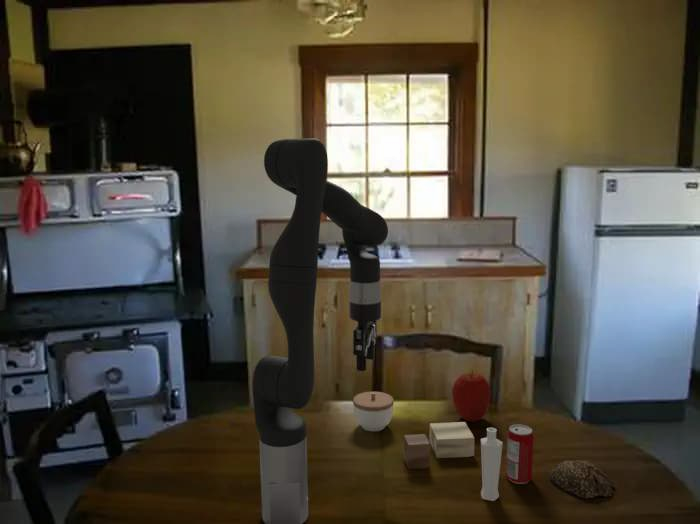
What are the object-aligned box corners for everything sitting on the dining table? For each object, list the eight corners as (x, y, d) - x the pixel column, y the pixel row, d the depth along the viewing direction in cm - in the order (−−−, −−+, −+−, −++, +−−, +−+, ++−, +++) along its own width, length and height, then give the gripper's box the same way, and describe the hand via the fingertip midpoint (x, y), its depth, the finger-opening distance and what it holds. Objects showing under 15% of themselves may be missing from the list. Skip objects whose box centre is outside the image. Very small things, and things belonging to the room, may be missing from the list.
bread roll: (541, 476, 143) (542, 455, 142) (585, 466, 147) (586, 446, 146) (580, 505, 131) (581, 483, 130) (627, 493, 135) (628, 472, 134)
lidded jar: (348, 432, 165) (347, 398, 163) (359, 416, 175) (359, 383, 173) (388, 437, 162) (388, 403, 160) (397, 420, 172) (397, 387, 170)
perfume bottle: (484, 487, 138) (486, 423, 135) (503, 494, 135) (505, 428, 132) (474, 496, 134) (475, 430, 131) (493, 503, 131) (495, 436, 129)
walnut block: (429, 467, 147) (429, 443, 145) (408, 469, 146) (408, 445, 145) (424, 457, 151) (424, 434, 150) (404, 458, 151) (404, 435, 150)
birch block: (473, 457, 152) (474, 437, 151) (436, 459, 151) (437, 439, 150) (464, 440, 160) (464, 421, 160) (429, 441, 160) (429, 423, 159)
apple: (487, 411, 177) (489, 364, 174) (492, 427, 167) (494, 377, 165) (450, 410, 178) (451, 363, 175) (452, 426, 168) (453, 376, 166)
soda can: (534, 476, 142) (536, 425, 140) (527, 487, 138) (530, 435, 135) (510, 470, 145) (511, 420, 143) (502, 480, 140) (504, 430, 138)
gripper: (374, 307, 142) (374, 376, 145) (386, 293, 156) (386, 356, 158) (342, 305, 144) (342, 373, 147) (357, 291, 157) (357, 354, 160)
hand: (365, 364), depth 153 cm, fingers open, 8 cm apart
